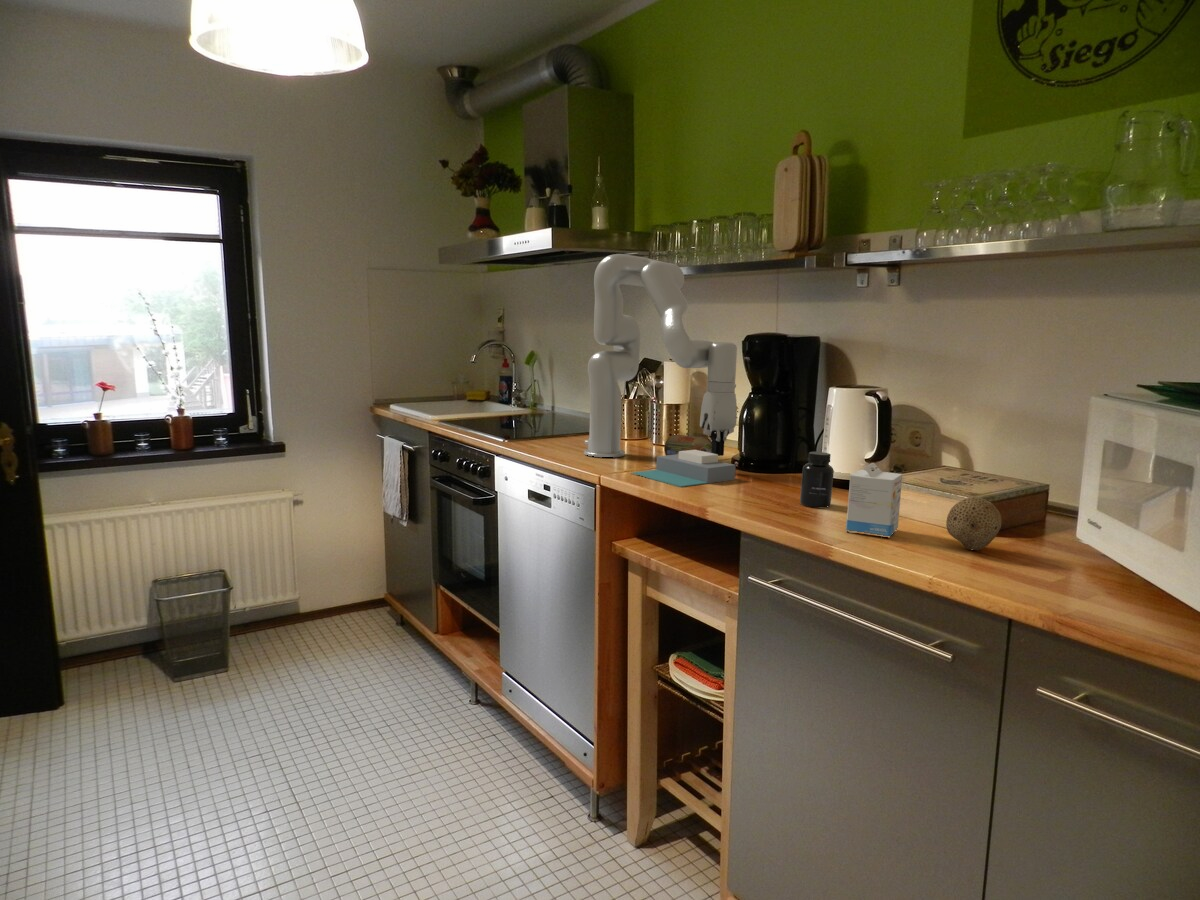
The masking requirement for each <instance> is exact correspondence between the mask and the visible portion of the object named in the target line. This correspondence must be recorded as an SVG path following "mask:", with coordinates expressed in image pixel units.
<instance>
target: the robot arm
mask: <svg viewBox="0 0 1200 900" xmlns="http://www.w3.org/2000/svg"><path fill="white" fill-rule="evenodd" d="M684 274H685V273H684V271H683V270H682V268H681V267H680V266H678V265H677V264H675V263H671V262H665V261H661V260H656V259H653V258H648V257H644V256H643V257H642V256H636V255H633V254H632V255H631V254H625V253H624V254H623V253H616V254H615V253H614V254H610V255H607V256H605V257H604V258H603V259H602V260H601V261H600V262H599V263H598V264H597V266H596V269H595V271H594V276H593V289H594V308H593V309H594V312H593V338H594V340H595V341H596V343H597V344H599V345H601V346H605V347H613V350H602V351H601V350H600V351H597V352H595V353H594V354H593V355H591V357H590V358H589V360H588V363H587V375H588V381H589V390H590V391H589V393H590V394H589V432H588V433H589V438H587V439H585V440H584V445H587V448H586V449H584V450H583V454H584V455H585V456H587V455H588V457H592V456H594V458H602V457H613V458H621V457H624V456H625V455H626V451H625V450H624V449H621V435H622V434H621V431H622V430H621V429H622V392H621V388H620V386H619V383H620V382H621V383H622V382H628V381H631V380H633V379H634V378H635V377H636V376H637V373H638V371H639V365H640V350H641V328H640V325H639V323H638V322H637V319H635V318H634V317H633V316H631V315H628V314H624V297H623V293H622V290H621V287H620V285H627V286H636V287H637V286H638V287H643V288H644V289H645V292H646V293H647V296H649V299H650V301H651V303H652V304H653V306H654V308H655V310H656V312H657V313H658V315H659V318H660V321H661V322H660V331H661V338H662V341H663V344H664V346H665V348H666V350H667V352H668V354H669V356H670V357H671V359H672V361H673V362H675V364H676V365H677V366H679V367H680V368H682V369H704V368H705V369H706V368H707V376H706V378H707V379H706V392H704V394H703V398H702V402H701V407H700V414H699V415H700V417H699V427H700V429H702V434H703V435H706V436H709V437H708V438H709V439H710V440H711V441H712V450H711V453H713V454H718V457H720V456H721V457H722V456H724V455H725V452H724V451H725V442H726V441H727V437H728V436H729V435H730V434H732V433H734V432H735V428H736V425H737V419H738V417H737V414H738V410H737V408H738V407H737V396H736V395H737V394H736V393H735V392H736V388H737V384H736V373H737V358H738V357H737V355H738V353H737V352H738V348H737V345H736V344H735V343H734V342H727V341H725V342H723V341H709V340H700V339H699V340H696V339H691V338H690V336H689V334H688V333H687V331H686V329H685V327H684V324H683V320H682V319H683V315H684V314H685V313H686V312H687V311H688V309H689V303H688V301H687V299H686V298H685V296H684V294H683V292H682V291H681V289H682V288H683V286H684V284H685V275H684Z"/></svg>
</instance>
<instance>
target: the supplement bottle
mask: <svg viewBox="0 0 1200 900" xmlns="http://www.w3.org/2000/svg"><path fill="white" fill-rule="evenodd" d="M807 456H808V457H807V461H808V463H806V464H805V465H803V467H802V475H801V485H800V496H799V497H800V498H799V502H800V504H801V505H802V506H804V505H805V506H804V507H808V506H810V507H809V508H814V507H827V506H829V507H830V506H831V504H832V495H833V483H834V473H835V472H834V471H835V470H834V468H833V466H831V465H830V463H831V454H830V453H828V452H824V451H810V452H808V455H807ZM827 508H828V507H827Z"/></svg>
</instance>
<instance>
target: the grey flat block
mask: <svg viewBox="0 0 1200 900" xmlns="http://www.w3.org/2000/svg"><path fill="white" fill-rule="evenodd" d="M678 457H679V454H675V455H658V456H657V455H656V466H655V467H656V469H655V470H660V471H664V472H668V473H672V474H676V475H679V476H683V477H687V478H691V479H695V480H699V481H703V482H707V484H714V483H715V482H716V483H720V482H721V483H722V481H723V482H728V481H729V480H730V481H734V480H736V479H735V478H736V467H737V466H736V464H733V463H728V462H723V461H720V460H718V462H713V463H704V464H700V463H696V462H691V461H687V460H682V459H678ZM730 481H729V482H730ZM707 484H706V485H707Z"/></svg>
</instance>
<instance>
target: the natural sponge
mask: <svg viewBox="0 0 1200 900" xmlns="http://www.w3.org/2000/svg"><path fill="white" fill-rule="evenodd" d="M946 516H947V517H946V520H945V521H946V522H945V523H946V526H945V527H946V530H947V533H948V534H949V535H950V536H951V537H952V538H954V539H955V540H956V541H958V542H960V543H961V544H962V545H963V546H964V547H965V549H967V548H968V549H967V550H969V549H973V550H977V551H980V550H982V549H984V548H986V547H987V546H988V545H989V544H990V543H992V541H993V540H994V539H995V538H996V536H997V535H998V533H999V532H1000V530H1001V527H1002V522H1003V521H1002V515H1001V513H1000V511H999V509H998V508H997V506H995V505H994V503H992V502H991V501H989V500H987V499H985V498H981V497H975V496H974V497H973V496H972V497H967V498H964V499H963V500H960V501H959V502H956V503H955V504H954V505H953V506H952V507H951V509H950V510H949V512H948V514H947V515H946Z"/></svg>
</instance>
